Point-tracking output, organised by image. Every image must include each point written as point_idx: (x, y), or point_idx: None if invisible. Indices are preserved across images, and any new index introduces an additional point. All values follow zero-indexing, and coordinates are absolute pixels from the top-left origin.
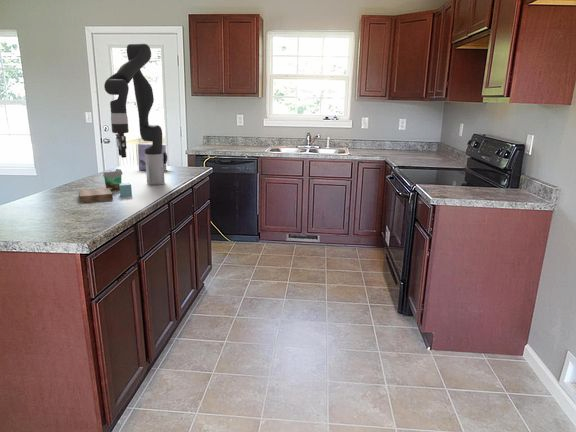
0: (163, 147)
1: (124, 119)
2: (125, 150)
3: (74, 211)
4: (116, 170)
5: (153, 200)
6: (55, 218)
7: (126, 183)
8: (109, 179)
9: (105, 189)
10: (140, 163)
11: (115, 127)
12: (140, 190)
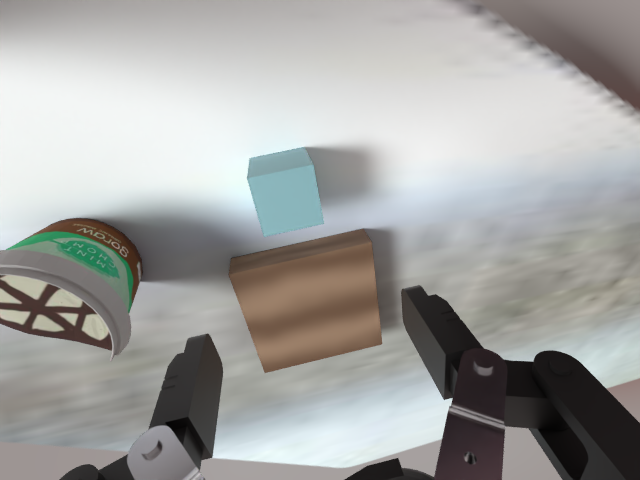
0: None
1: None
2: (461, 344)
3: (492, 317)
4: None
5: (449, 19)
6: (544, 340)
7: (266, 195)
8: (126, 302)
9: (257, 284)
10: None
11: None
12: (133, 99)
